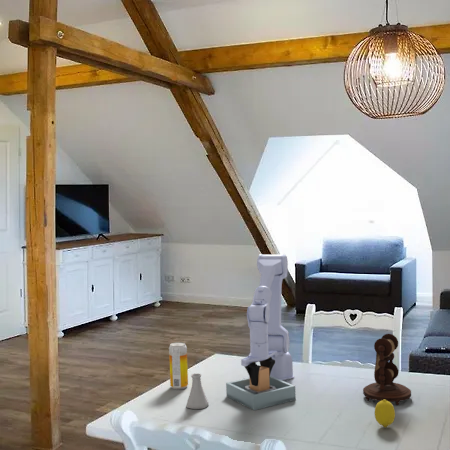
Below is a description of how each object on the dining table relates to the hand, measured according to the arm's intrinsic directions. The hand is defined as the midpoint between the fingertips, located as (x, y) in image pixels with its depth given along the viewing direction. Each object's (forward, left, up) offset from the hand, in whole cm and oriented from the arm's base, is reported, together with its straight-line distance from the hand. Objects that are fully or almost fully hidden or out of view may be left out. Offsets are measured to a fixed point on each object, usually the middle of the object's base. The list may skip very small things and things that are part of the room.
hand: (260, 383), depth 210 cm
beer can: (+16, -26, -5) cm, 31 cm away
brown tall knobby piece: (-32, +24, -5) cm, 40 cm away
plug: (0, 0, -2) cm, 2 cm away
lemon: (-14, +41, -5) cm, 44 cm away
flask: (+20, -6, -5) cm, 21 cm away
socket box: (0, 0, -5) cm, 5 cm away
